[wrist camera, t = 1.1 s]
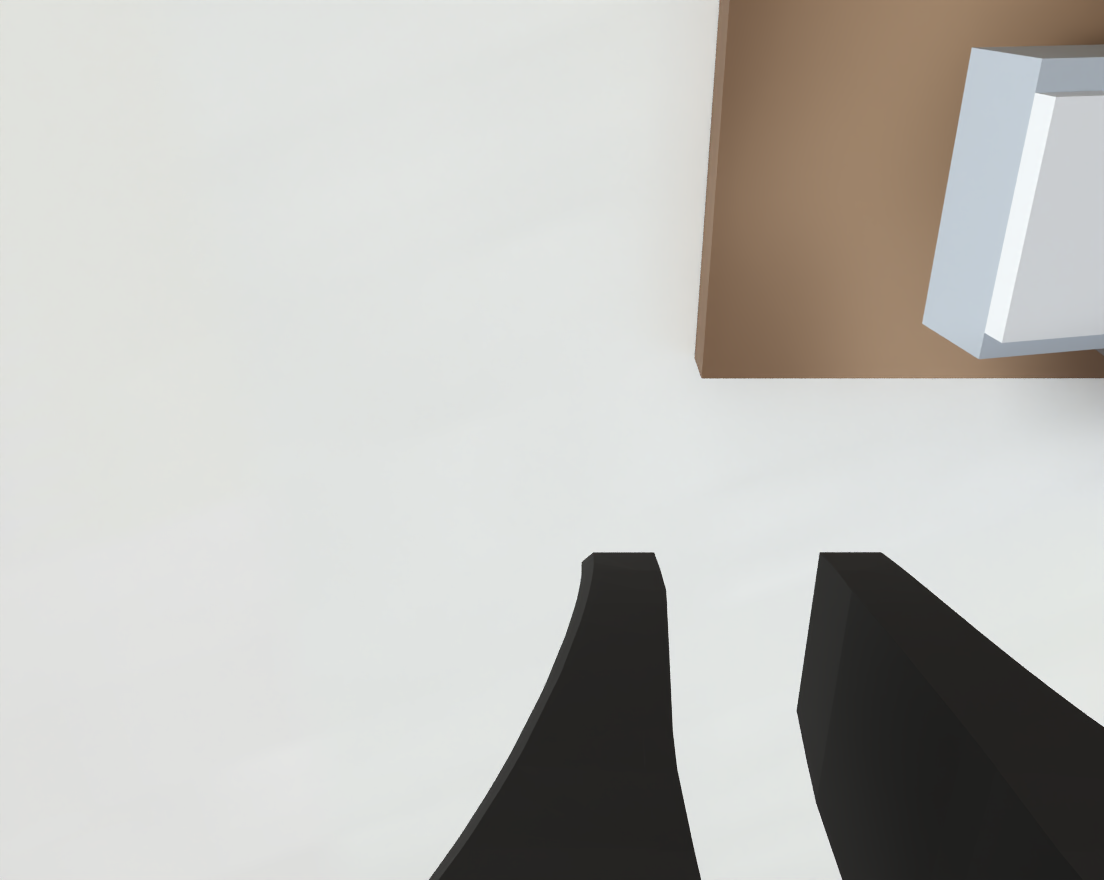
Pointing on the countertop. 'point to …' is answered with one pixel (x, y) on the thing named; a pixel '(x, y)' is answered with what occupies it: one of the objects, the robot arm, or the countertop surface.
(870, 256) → the walnut board
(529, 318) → the countertop surface
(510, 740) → the countertop surface
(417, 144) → the countertop surface
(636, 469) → the countertop surface
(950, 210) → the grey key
